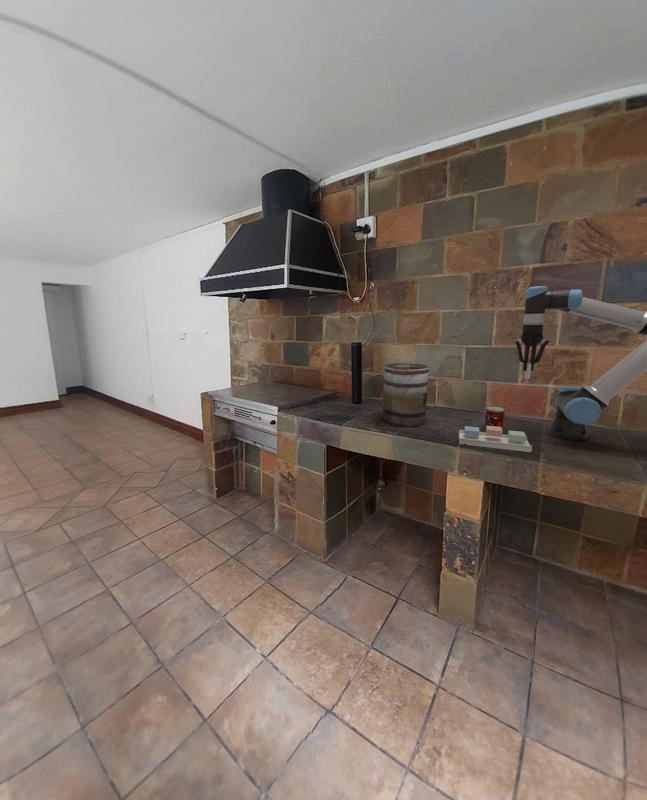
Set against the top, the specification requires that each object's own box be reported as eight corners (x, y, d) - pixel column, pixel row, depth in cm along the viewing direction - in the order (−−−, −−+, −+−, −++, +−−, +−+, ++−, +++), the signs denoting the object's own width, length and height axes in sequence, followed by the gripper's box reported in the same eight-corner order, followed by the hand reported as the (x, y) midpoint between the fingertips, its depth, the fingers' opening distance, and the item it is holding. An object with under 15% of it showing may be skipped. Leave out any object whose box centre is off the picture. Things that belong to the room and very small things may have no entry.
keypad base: (525, 442, 151) (526, 437, 150) (531, 452, 140) (532, 446, 139) (458, 435, 160) (459, 430, 160) (459, 443, 150) (459, 438, 149)
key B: (500, 433, 151) (501, 427, 150) (502, 438, 145) (502, 431, 145) (485, 432, 153) (486, 425, 152) (486, 436, 147) (487, 429, 147)
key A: (522, 438, 148) (523, 431, 147) (525, 443, 143) (526, 436, 142) (507, 437, 150) (508, 430, 149) (509, 441, 145) (510, 434, 144)
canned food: (480, 428, 170) (483, 407, 167) (493, 426, 172) (495, 405, 170) (493, 433, 163) (495, 411, 160) (505, 431, 165) (508, 409, 163)
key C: (478, 433, 154) (478, 427, 153) (478, 438, 149) (479, 431, 148) (463, 432, 156) (464, 426, 156) (464, 436, 151) (464, 430, 150)
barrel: (432, 421, 182) (437, 366, 175) (409, 430, 167) (412, 370, 160) (398, 412, 198) (400, 362, 191) (373, 420, 184) (375, 366, 176)
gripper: (547, 323, 146) (541, 377, 152) (514, 324, 150) (509, 376, 156) (553, 324, 139) (546, 380, 145) (518, 324, 143) (512, 379, 149)
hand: (527, 378), depth 150 cm, fingers closed
